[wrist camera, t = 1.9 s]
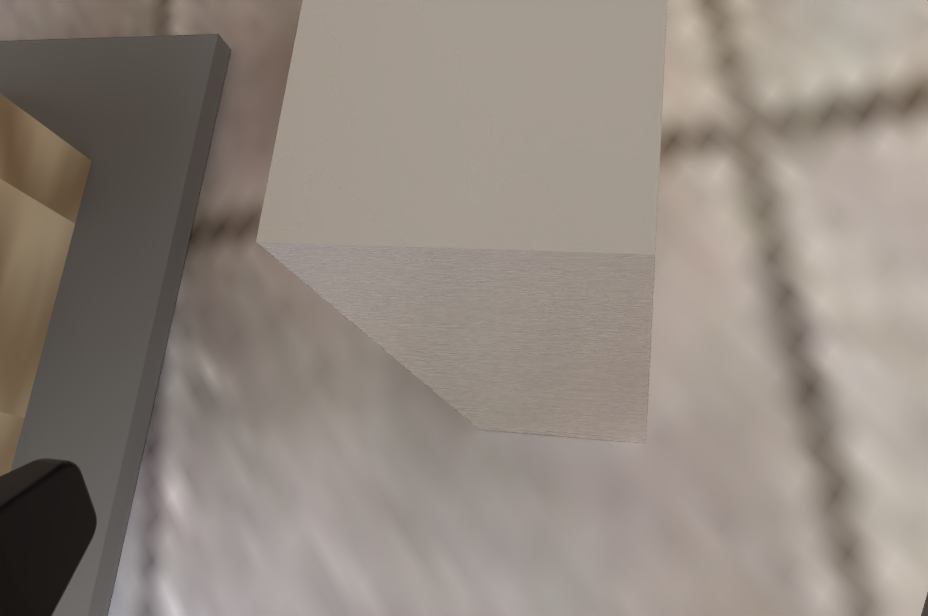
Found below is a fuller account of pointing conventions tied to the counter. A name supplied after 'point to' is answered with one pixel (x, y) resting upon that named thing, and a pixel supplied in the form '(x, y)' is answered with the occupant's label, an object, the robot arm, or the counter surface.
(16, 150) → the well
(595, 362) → the steel bar
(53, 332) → the mat
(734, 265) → the counter surface
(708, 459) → the counter surface
